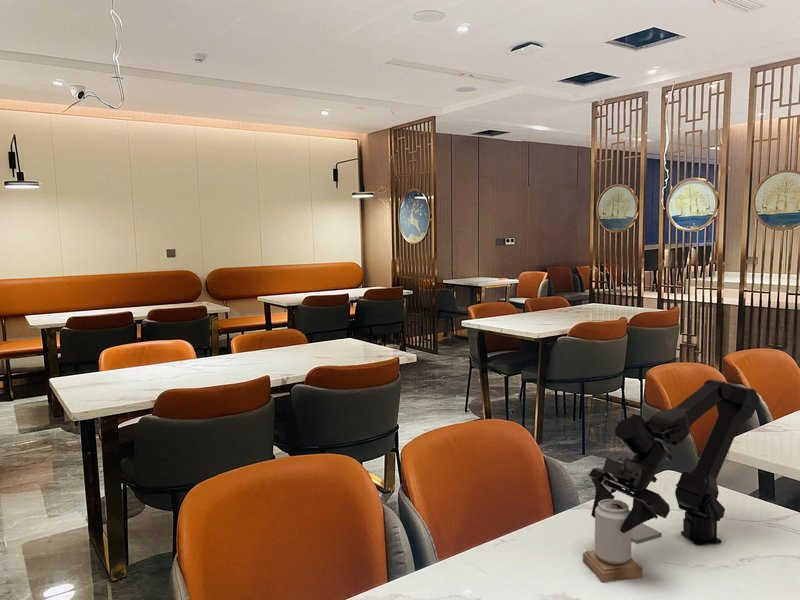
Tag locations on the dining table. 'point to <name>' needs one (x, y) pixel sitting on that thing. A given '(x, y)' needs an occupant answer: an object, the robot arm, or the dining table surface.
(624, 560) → the can
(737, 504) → the dining table surface
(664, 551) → the dining table surface
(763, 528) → the dining table surface
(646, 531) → the slate coaster
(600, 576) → the plinth
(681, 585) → the dining table surface
